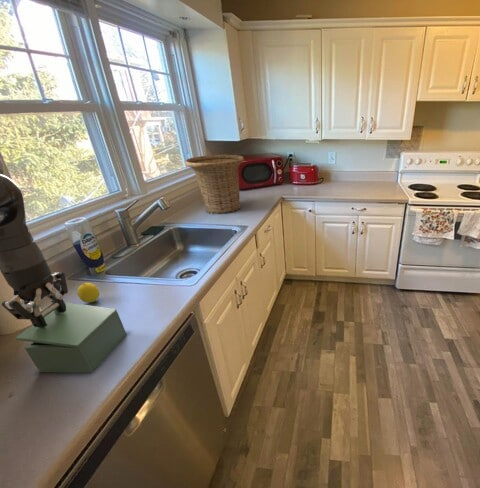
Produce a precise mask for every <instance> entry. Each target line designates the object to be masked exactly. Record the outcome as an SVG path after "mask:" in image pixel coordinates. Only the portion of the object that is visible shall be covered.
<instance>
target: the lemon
mask: <svg viewBox="0 0 480 488" xmlns="http://www.w3.org/2000/svg"><path fill="white" fill-rule="evenodd" d="M77 296H78V298H79V300H80V301H82V302H83V303H95V301H97V300H98V299H99V297H100V289H99V288H98V286H97V285H96V284H94V283H92V282H83V283H82V284H81V285H79V286H78V288H77Z"/></svg>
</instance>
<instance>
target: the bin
mask: <svg viewBox="0 0 480 488" xmlns="http://www.w3.org/2000/svg"><path fill="white" fill-rule="evenodd" d="M126 335H127V331H126V329H125V327H124V325H123V322H122V320H121V317H120V315H119V313H118V311H117V312H116V313H114V314H113V315H112V316H111V317H110V318H109V319H108V320H107V321H106V322H105V323H104V324H103V325H102V326H101V327H100V328H99V329H98V330H96V331H95V332H94V333H93V334H92V335H91V336H90V337H89V338H88V339H87V340H86V341H85V342H84V343H83V344H82V345H81V346H80V347H79V348H77V347H69V346H61V345H53V344H45V343H37V342H29V343H28V344H27V345H25V346H23V348H24V350H25V352H26V354H28V356H29V358H30V359H31V360H32V362H33V363H34V365H35V367H36V368H37V370H38V371H39V373H93V372H94V370H96V369H97V368H98V367H99V365H100V364H101V363H102V362H103V361H104V360H105V359H106V358H107V357H108V355H109V354H110V353H111V352H112V351H113V350H114V349H115V348H116V346H117V345H118V344H119V343H121V341H122V340H123V339H124V337H126Z"/></svg>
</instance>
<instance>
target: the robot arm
mask: <svg viewBox="0 0 480 488" xmlns="http://www.w3.org/2000/svg"><path fill="white" fill-rule="evenodd" d="M26 218H27V217H26V209H25V201H24V196H23V193H22V190H21V188H20V187H19V185H18V184H17V183H16V182H15V181H14V180H13V179H11V178H10V177H8V176H6V175H5V174H1V173H0V273H1V275H2V276H3V278H4V280H5V281H6V283H7V285H8V286H9V287H10V288H12V289H13V296H12V297H11V298H9V300H4V301H2V302H1V306H2V307H3V308H4V310H6V311H8V312H9V314H11V315H12V316H13V317H14V318H15V319H16V320H29V321H30V322H31V324H32V325H33V326H34V327H42V328H44V327H45V326H47V323H46V321H45V320H44V318H43V316H42V314H40V311H41V308H40V307H41V306H42V300H43V299H44V298H45V297H46V298H48V299H49V300H50V302H51V303H52V302H58V303H59V304H60V306H59V307H58V309H59V312H60V313H64V312H65V311H66V305H65V303H64V302H65V301H64V296H65V294H68V292H69V289H68V284H67V279H66V274H65V272H64V271H63V272H61V271H60V272H58V271H56V272H55V271H53V272H52V270H51V269H50V267H49V264H48V263H47V261H46V258H45V255H44V254H43V252H42V250H41V249H40V246H39V245H38V244H37V243H36V241H35V239H34V237H33V234H32V233H31V231H30V229H29V226H28V225H27V220H26Z"/></svg>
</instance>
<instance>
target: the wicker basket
mask: <svg viewBox="0 0 480 488" xmlns="http://www.w3.org/2000/svg"><path fill="white" fill-rule="evenodd" d="M244 162H245V159H244V156H242V155H238V154H210V155H200V156H194V157H190V158H187V159H185V160H184V164H185V166H186V167H189V168H191V169H192V170H193V171H194V174H195V177H196V181H197V183H198V186H199V190H200V193H201V196H202V200H203V202H204V203H203V204H204V206H205V209H206V211H207V213H208V214H212V215H213V214H215V215H219V214H221V215H224V214H225V213H226V214H230V213H234V212H236V211H237V212H238V210H240V208H241V199H240V198H241V197H240V178H239V167H240V165H241V164H243V163H244Z"/></svg>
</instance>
